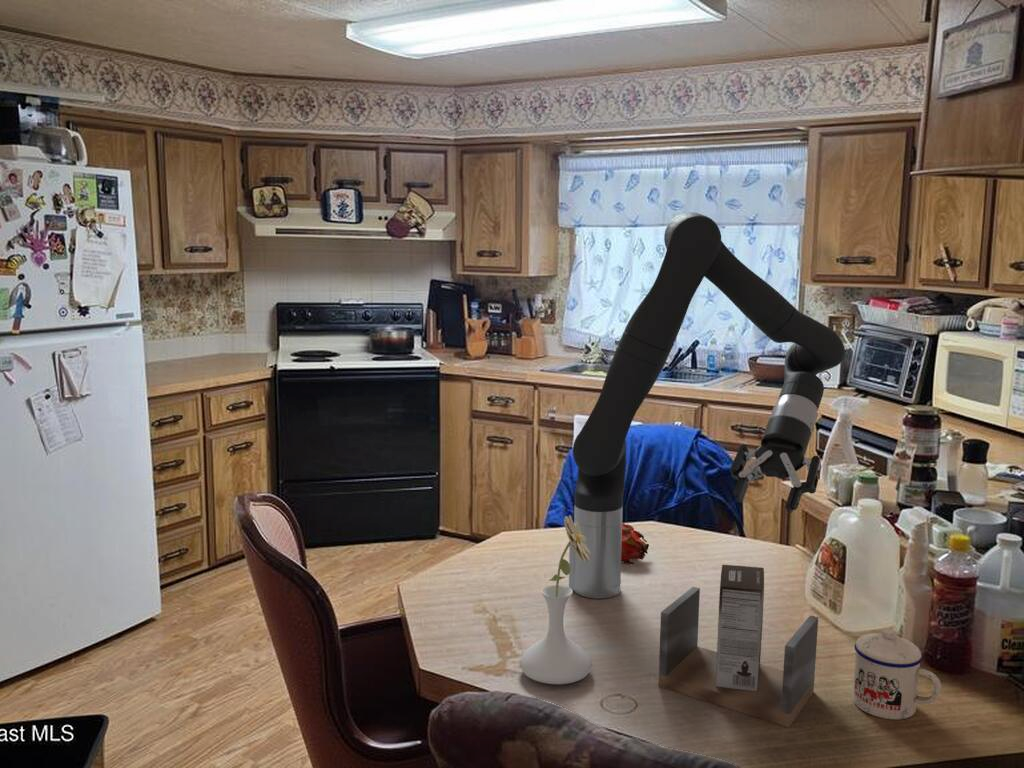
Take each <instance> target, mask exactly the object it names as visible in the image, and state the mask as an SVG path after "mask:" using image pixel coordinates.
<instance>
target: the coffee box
mask: <svg viewBox="0 0 1024 768" xmlns="http://www.w3.org/2000/svg"><path fill="white" fill-rule="evenodd" d="M764 569H765V568H764V567H758V566H746V565H745V566H744V565H734V564H733V565H732V564H722V565H721V572H720V581H719V582H720V583H719V597H718V598H719V600H718V603H719V604H718V620H717V640H716V641H717V643H716V652H717V666H716V686H717V687H724V688H732V689H740V690H748V691H756V692H757V691H758V686H759V671H760V664H761V656H762V655H761V654H762V635H763V622H764V601H765V600H764V599H765V570H764Z"/></svg>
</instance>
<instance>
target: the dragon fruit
mask: <svg viewBox="0 0 1024 768" xmlns="http://www.w3.org/2000/svg"><path fill="white" fill-rule="evenodd" d="M644 537H645V536H644V535H643V534H642V533H641V532H639V531H637V530H635V528H634V527H633V526H632V525H630V524H627V523H624V522H622V548H621V563H623V564H624V565H636V563H634V562H633V561H631V560H642V561H643V560H644V558H645V557H646V554H648V550H649V547H650V544H649V543H648V541H647V540H646V539H645V538H644Z"/></svg>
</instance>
